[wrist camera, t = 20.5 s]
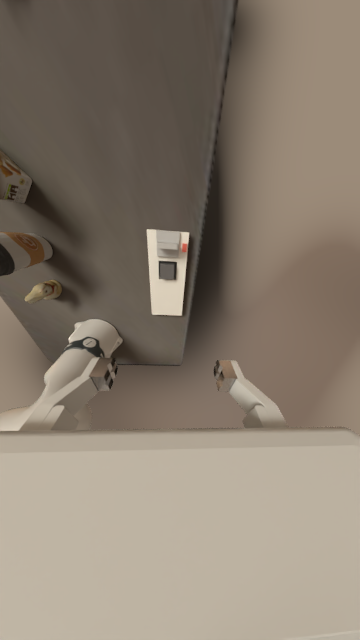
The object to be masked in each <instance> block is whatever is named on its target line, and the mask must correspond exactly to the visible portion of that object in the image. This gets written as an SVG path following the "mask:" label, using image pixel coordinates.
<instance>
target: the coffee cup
mask: <svg viewBox="0 0 360 640" xmlns="http://www.w3.org/2000/svg"><path fill="white" fill-rule="evenodd" d="M52 254H53V251H52V247H51V246H50V244H49V243H48V242H47V241H46V240H45V239H44V238H42V237H41V236H39V235H36V234H29V233H13V232H0V276H3V275H9V274H11V273H13V272H14V271H17V270H20V269H23V268H26V267H29V266H32V265H35V264H37V263H40V262H42V261H45V260H47V259H49V258H51V256H52Z"/></svg>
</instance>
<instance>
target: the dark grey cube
mask: <svg viewBox="0 0 360 640" xmlns="http://www.w3.org/2000/svg"><path fill="white" fill-rule="evenodd" d="M160 279H174V262H162V261H161V263H160Z"/></svg>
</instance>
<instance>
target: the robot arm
mask: <svg viewBox="0 0 360 640" xmlns="http://www.w3.org/2000/svg"><path fill="white" fill-rule="evenodd" d="M122 341H123V339H122V338H121V337H120V336H119V335H118V332H117V330H116V329H115V328H114V327H113V326H112V325H111V324H109V323H108V322H106V321H103V320H99V319H90V320H87V321H85V322H77V323H76V324H75V331H74V332H73V334H72V335H71V336H70V337H69V343H70V344H69V345H68V346H67V347H66V348H65V349H64V351H63V352H62V355H61V356H60V358H59V359H58V360H57V361H56V362H55V363H54V365H52V367H51V368H50V369H49V370H48V371H47V372H46V374H45V376H44V381H45V384H46V387H45V389H44V391H43V393H42V395H41V397H40V398H39V399H38V400H37V401H36V402H35V403H34V404H33V405H31V406H25V407H19V408H13V409H9V410H6V411H4V412H1V413H0V640H360V435H358V434H357V433H355V432H354V431H352V430H351V429H348V428H345V427H289V426H288V425H287V423H286V421H285V419H284V418H283V416H282V414H281V412H280V411H279V409H278V407H277V405H276V404H275V403H273V402H272V401H271V400H270V399H269V398H268V397H267V396H265V395H264V394H263V393H262V392H261V391H260V390H258V388H256V387H255V386H254V385H253V384H252V383H251V382H250V381H248V380H247V379H245V378H244V376H243V374H242V372H241V370H240V368H239V365H238V363H237V361H235V360H217V361H216V366H215V367H214V376H215V379H216V380H217V383H216V384H217V388H218V391H224V392H229V393H230V394H231V395H232V397H233V398H234V399H235V400H236V402H237V403H238V404H239V405H240V407H241V408H242V409H243V410H244V411H245V413H246V414H247V416H246V417H245V418H244V419H243V424H244V427H245V428H203V429H202V428H199V429H124V430H123V429H116V430H90V427H91V422H92V413H91V409H90V407H89V405H88V404H87V402H88V401H89V400H90V399H91V398H92V397H93V396H94V395H95V394H96V393H97V392H98V391H110V389H111V387H112V385H113V378H115V377H116V374H117V370H118V366H117V364H116V363H115V362H116V360H115V358H110V356H111V354H112V352H113V351H114V350H115V349H116V348H117V347H118V346H119V345H120V344H121V343H122Z"/></svg>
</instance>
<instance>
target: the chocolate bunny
mask: <svg viewBox="0 0 360 640" xmlns="http://www.w3.org/2000/svg"><path fill="white" fill-rule="evenodd" d="M61 292H62V288H61V285H60V283H59V282H58V281H56V280H50V281H46V282H44V283H40V284H37V285H36V286H35V287H34V288H33V290H32V291H31V292H30V293H29V294H28V295H27V296H26V297H25V301H27V302H29V303H34V302H37V301H39V300H41V299H43V298H44V299H47V300H49V299H54V298H57V297H58V296H59V295H60V294H61Z"/></svg>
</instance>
